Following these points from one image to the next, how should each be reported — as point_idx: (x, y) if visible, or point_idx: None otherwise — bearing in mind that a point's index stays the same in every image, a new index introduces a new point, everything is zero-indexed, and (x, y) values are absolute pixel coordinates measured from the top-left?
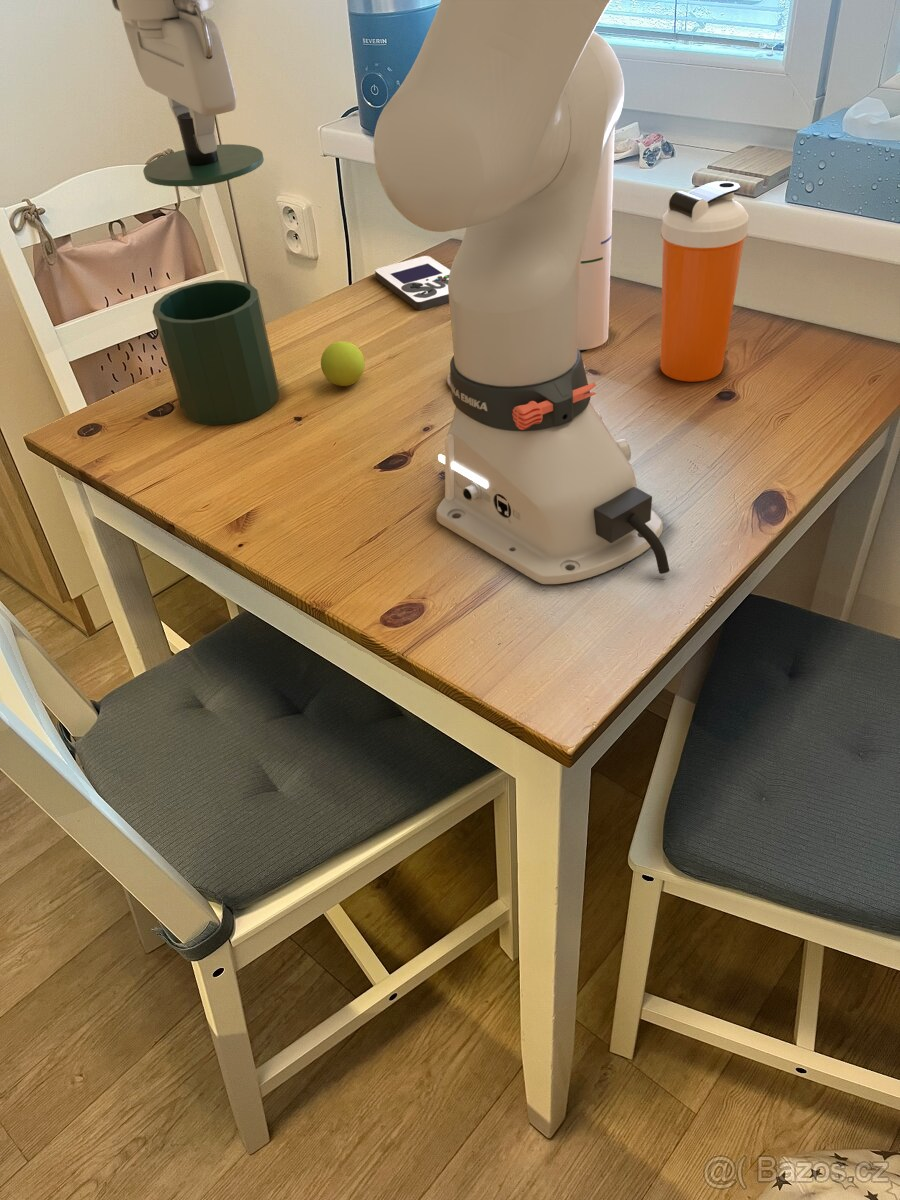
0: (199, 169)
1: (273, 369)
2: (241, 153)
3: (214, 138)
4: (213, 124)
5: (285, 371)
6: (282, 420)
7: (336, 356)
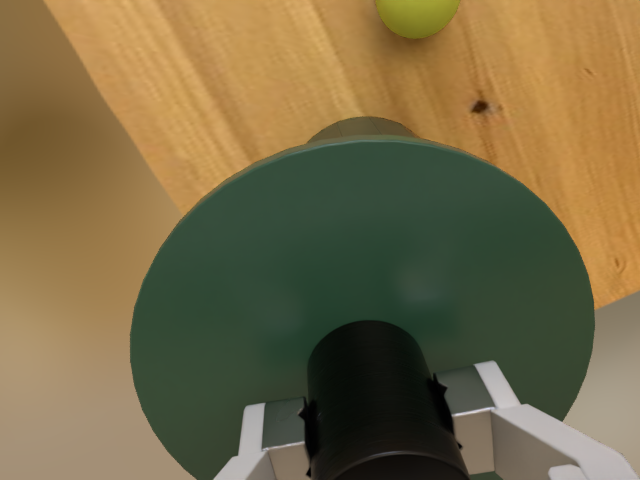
0: None
1: (399, 129)
2: (355, 227)
3: (509, 388)
4: (567, 429)
5: (303, 89)
6: (469, 131)
7: (450, 9)
